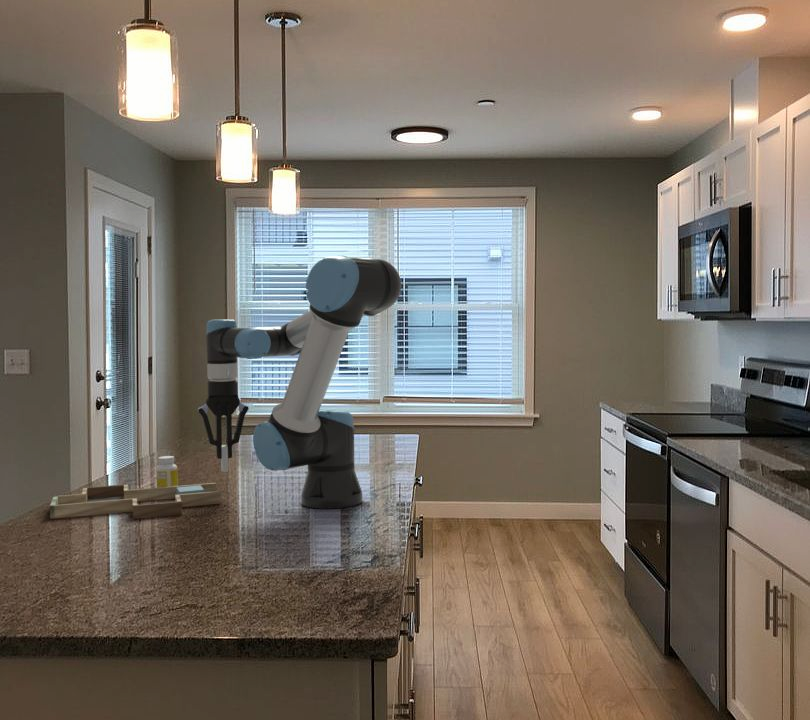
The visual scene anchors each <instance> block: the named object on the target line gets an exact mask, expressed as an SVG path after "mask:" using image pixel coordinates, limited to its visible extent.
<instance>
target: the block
mask: <svg viewBox="0 0 810 720" xmlns="http://www.w3.org/2000/svg"><path fill="white" fill-rule="evenodd" d="M201 492H204V489H203V488H202V487H201V485H198V486H187V487H177V494H189V493H201Z"/></svg>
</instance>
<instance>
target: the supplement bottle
mask: <svg viewBox="0 0 810 720" xmlns="http://www.w3.org/2000/svg"><path fill="white" fill-rule="evenodd" d="M174 462H175V456H173V455H164V456H163V455H162V456H159V457H158V464H159V465H157V466H156V488H158V487H170V486H179V474H178V466H177V465H176V464H175V463H174Z"/></svg>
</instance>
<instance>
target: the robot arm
mask: <svg viewBox="0 0 810 720" xmlns="http://www.w3.org/2000/svg"><path fill="white" fill-rule="evenodd" d="M305 289H306V290H307V292H306V293H305V295H306V299H307V301H308V303H309V307H308V309H309V310H308V311H306V312H304V313H303V314H301V315H299V316H298V317H296V318H294V319H292V320H290V321H289V322H287V323H285V324H283V325H281V326H263V327H262V326H261V327H260V326H258V327H238V325H237V321H236V320H235V319H210V320H208V321H207V322H206V334H205V338H206V339H205V340H206V341H205V342H206V343H205V344H206V360H207V364H206V365H207V378H208V382H207V399H206V401H205V404H203V405H202V406H199V407H197V411H198V413H199V414H200V415H201V418H202V421H203V425H204V429H205V433H206V436H207V439H208V442H209V444H210V445H213V446H216V458H217V459H218V460H220V471H221V472H222V473H227V472H229V459H232V458H233V445H235V444H238V443H239V442H240V438H241V434H242V430H243V424H244V420H245V416H246V414H247V412H248V410H249V406H248V405H245V404H243V403H242V402H241V400H240V398H239V388H238V387H239V386H238V385H239V382H238V380H237V378H238V358H240V359H247V360H253V359H261V358H268V357H283V356H285V357H286V356H288V357H289V356H293V357H294V356H297V355H298V358H297V361H296V363H295V366H294V369H293V372H292V374H291V377H290V380H289V382H288V385H287V387H286V388H287V389H286V392H285V394H284V397H283V399H282V402H281V403H278V404H276V405H275V406H274V407H273V408H272V410H271V412H270V413H271V414H270V415H269V419H268V420H267V421H266V420H264V421H262V422H260V423H258V424H257V425H256V426H255V428H254V431H253V436H252V446H253V448H254V452H255V455H256V458H257V459H258V461H259V463H260V464H261V465H262V466H263V467H264V468H265V469H267V470H269V471H275V472H276V471H287V470H290V469H294V468H300V467H305V466H307V474H306V477H305V480H304V484H303V488H302V490H301V491H302V492H301V494H300V495H301V497H300V498H301V499H300V501H301V503H300V504H301V505H302V506H305V507H308V508H313V509H341V508H349V507H353V506H357V505H359V504H360V503H362V502H363V491H362V487H361V485H360V482H359V479H358V476H357V473H356V470H355V426H354V417H353V415H352V413H350V412H349V411H344V410H343V411H342V410H335V409H334V410H332V409H321V407H322V404H323V401H324V398H325V396H326V393H327V391H328V389H329V385H330V384H331V380H332V378H333V374H334V372H335V369H336V366H337V365H338V362H339V360H340V359H339V358H340V356H341V354H342V351H343V349H344V346H345V343H346V341H347V339H348V335H349V333H350V331H351V330H352V329H353V330H354V329H355V328H358V327H359V326H360V324H361V321H362V318H364V317H365V316H366V317H374V316H376V315H379V314H380V313H383V312H384V311H385V310H388V309H389V308H391V307H392V306H393V305H394V304H395V303H396V302H397V300H398V299H399V298H400V294H401V290H402V281H401V277H400V274H399V272H398V270H397V269H396V268H395V267H394V265H392V264H391V263H390V262H388V261H387V260H384V259H382V258H378V257H377V258H376V257H356V256H355V257H354V256H346V255H337V256H326V257H324V258H322V259H320V260H318V261H317V262H316V263H314V264H313V266H312V268H311V269H310V271H309V272H308V275H307V278H306V282H305ZM208 409H209V410H210V411H211V413H212V414H213V415H214V417H215V418H214V419H215V438H214V435H213V431H212V428H211V424H210V420H209V417H208V415H207V414H208V412H209V410H208ZM236 410H238V411H239V412H238V416H237V420H236V425H235V430H234V434H233V428H232V427H233V425H232V422H233V421H232V420H233V419H232V417H233V416H232V415H233V414H234V413H235V412H236ZM223 416H225V438H226V439H225V441H226V442H225V443H226V444H223V443H222V442H223V441H222V440H223V437H222V435H223V433H222V431H223V430H222V417H223Z"/></svg>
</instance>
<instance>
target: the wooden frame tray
mask: <svg viewBox="0 0 810 720" xmlns="http://www.w3.org/2000/svg"><path fill="white" fill-rule="evenodd" d="M198 485H201V487H202V488H203V489H204V492H201V493H189V494H177V487H187V486H198ZM171 499H174V501H165V502H164V501H163V502H156V503H155V502H154V503H144V504H138V502H148V501H159V500H161V501H162V500H171ZM217 504H222V492H221V490H217V482H210V483H209V482H207V483H196V484H183V485H178V486H170V487H158V488H157V487H147V488H134V489H129V484H128V483H126V484H125V483H124V484H113V485H101V486H99V485H98V486H86V487H83V488H82V492H81V493H77V494H76V493H74V494H64V495H54V496H53V497H52V500H51V502H50V505H49V517H50V520H54V519H64V518H65V519H66V518H75V517H77V518H78V517H87V516H97V515H98V516H99V515H107V514H108V515H109V514H118V513H119V514H120V513H130V512H131V513H132V516H133V518H132V519H133V520H135V519H136V520H137V519H145V518H146V519H147V518H158V517H166V516H167V517H168V516H179V515H183V508H185V507H197V506H208V505H217Z"/></svg>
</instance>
